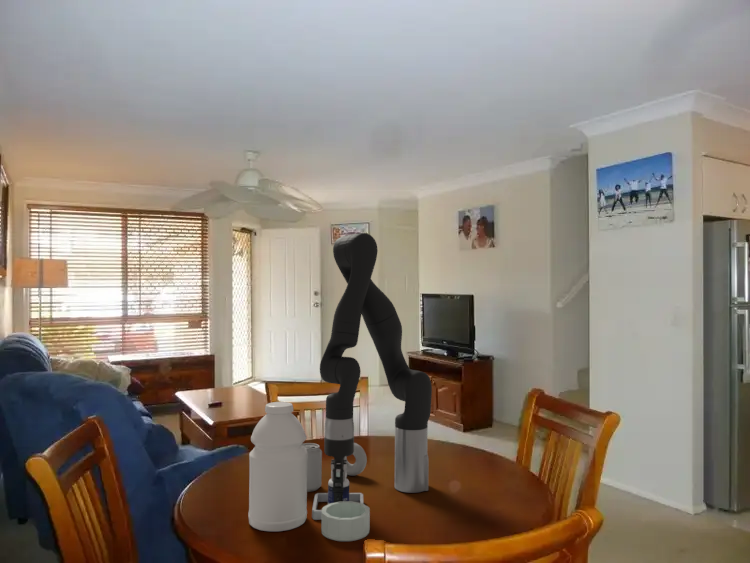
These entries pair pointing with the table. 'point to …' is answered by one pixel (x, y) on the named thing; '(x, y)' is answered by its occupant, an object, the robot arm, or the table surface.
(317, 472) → the can
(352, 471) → the donut
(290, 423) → the bottle
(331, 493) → the pill bottle
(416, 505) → the table surface
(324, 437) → the robot arm
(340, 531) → the bowl
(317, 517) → the tray
